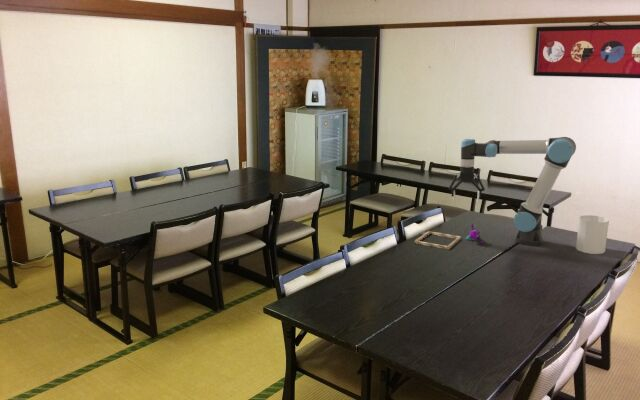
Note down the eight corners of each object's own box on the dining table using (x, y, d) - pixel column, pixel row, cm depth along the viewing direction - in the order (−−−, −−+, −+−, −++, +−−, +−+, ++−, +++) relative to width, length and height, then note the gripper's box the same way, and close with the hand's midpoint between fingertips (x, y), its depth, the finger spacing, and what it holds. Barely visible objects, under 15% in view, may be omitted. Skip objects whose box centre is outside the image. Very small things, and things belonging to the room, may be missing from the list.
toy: (487, 240, 316) (483, 241, 302) (472, 248, 319) (468, 249, 306) (477, 222, 319) (473, 222, 305) (462, 230, 322) (457, 230, 309)
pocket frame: (461, 238, 316) (461, 236, 315) (448, 249, 297) (448, 246, 297) (423, 232, 328) (423, 230, 328) (409, 242, 309) (409, 240, 309)
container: (597, 256, 287) (602, 223, 283) (571, 249, 298) (574, 218, 293) (608, 250, 296) (613, 218, 292) (582, 244, 307) (586, 213, 303)
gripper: (489, 165, 308) (487, 201, 313) (444, 164, 313) (443, 200, 318) (490, 167, 301) (488, 204, 306) (445, 167, 306) (444, 203, 311)
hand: (465, 202), depth 312 cm, fingers open, 13 cm apart
